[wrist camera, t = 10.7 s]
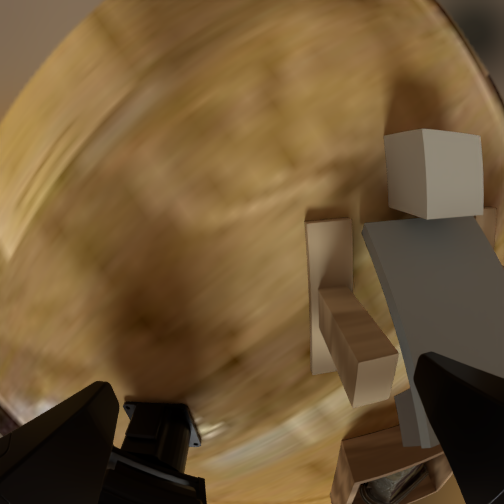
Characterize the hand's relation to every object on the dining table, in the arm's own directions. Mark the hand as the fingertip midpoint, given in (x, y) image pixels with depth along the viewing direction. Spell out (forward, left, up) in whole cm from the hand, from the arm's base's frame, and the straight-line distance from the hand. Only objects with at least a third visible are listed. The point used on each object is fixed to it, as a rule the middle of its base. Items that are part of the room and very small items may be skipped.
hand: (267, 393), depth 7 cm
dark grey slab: (-6, -12, -9) cm, 16 cm away
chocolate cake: (-33, -17, -13) cm, 40 cm away
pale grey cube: (+2, -12, -10) cm, 16 cm away
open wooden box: (-30, -15, -13) cm, 36 cm away
